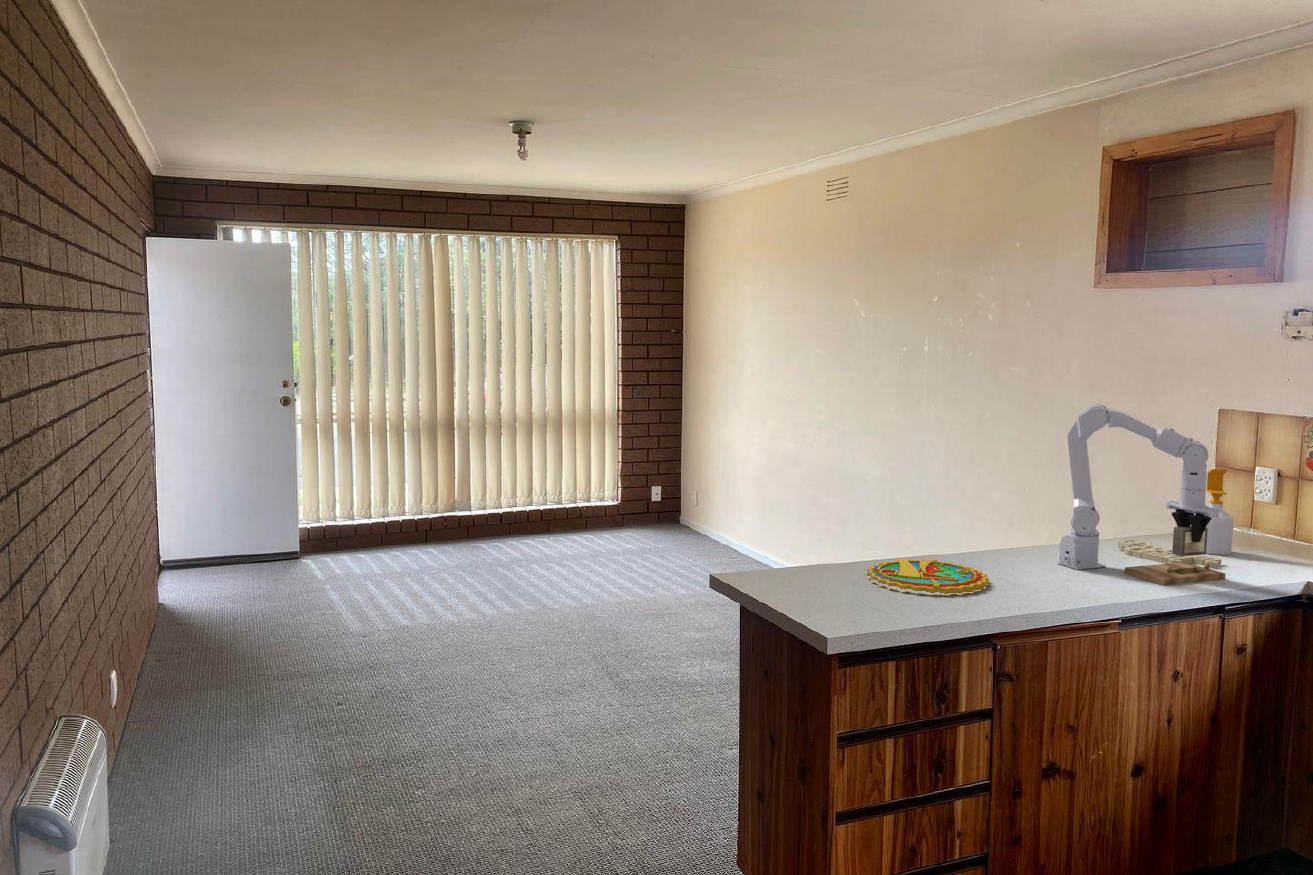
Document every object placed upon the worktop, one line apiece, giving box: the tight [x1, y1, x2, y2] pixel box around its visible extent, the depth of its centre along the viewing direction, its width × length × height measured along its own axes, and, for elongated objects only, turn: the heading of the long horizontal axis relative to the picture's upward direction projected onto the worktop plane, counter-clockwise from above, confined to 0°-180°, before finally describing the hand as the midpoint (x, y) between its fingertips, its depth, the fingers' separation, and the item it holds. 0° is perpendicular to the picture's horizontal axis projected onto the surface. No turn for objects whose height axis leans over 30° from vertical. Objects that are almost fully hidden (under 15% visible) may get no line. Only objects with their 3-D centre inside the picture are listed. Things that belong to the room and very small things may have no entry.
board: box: [1123, 562, 1226, 586], centre depth 249 cm, size 20×13×3 cm, turn 107°
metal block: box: [1172, 525, 1208, 556], centre depth 247 cm, size 8×3×7 cm, turn 108°
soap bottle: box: [1205, 468, 1234, 556], centre depth 276 cm, size 9×9×25 cm
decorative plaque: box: [866, 558, 990, 594], centre depth 245 cm, size 30×3×30 cm
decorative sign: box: [1117, 539, 1222, 570], centre depth 270 cm, size 31×2×15 cm
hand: (1190, 540), depth 247 cm, fingers closed on metal block, 3 cm apart
